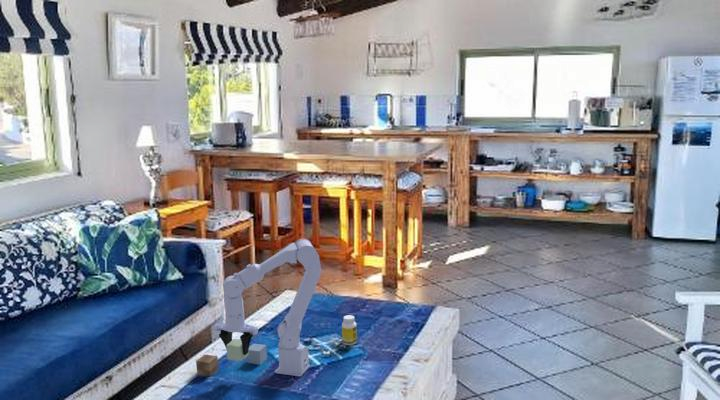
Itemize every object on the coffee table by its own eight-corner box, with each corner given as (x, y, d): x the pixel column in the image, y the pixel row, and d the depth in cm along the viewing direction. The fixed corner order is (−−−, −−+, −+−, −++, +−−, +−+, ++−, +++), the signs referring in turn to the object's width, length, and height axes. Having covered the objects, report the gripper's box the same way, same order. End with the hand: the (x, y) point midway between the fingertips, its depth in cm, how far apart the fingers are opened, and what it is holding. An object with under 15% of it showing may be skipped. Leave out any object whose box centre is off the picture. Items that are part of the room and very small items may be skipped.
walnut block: (218, 369, 207) (217, 356, 206) (210, 376, 203) (209, 362, 202) (205, 368, 209) (204, 354, 208) (197, 374, 204) (196, 360, 203)
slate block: (267, 358, 215) (266, 345, 214) (260, 364, 210) (259, 351, 209) (254, 356, 216) (253, 343, 215) (247, 363, 212) (246, 349, 211)
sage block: (248, 354, 202) (247, 340, 201) (241, 361, 198) (240, 346, 197) (235, 352, 204) (234, 338, 203) (227, 359, 199) (226, 345, 198)
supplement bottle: (355, 346, 222) (354, 320, 220) (340, 345, 223) (339, 319, 221) (358, 339, 227) (357, 314, 225) (344, 338, 228) (343, 313, 226)
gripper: (261, 310, 199) (263, 349, 202) (220, 307, 203) (223, 345, 206) (251, 318, 193) (254, 359, 195) (209, 315, 197) (213, 354, 200)
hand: (238, 352), depth 200 cm, fingers closed on sage block, 5 cm apart
